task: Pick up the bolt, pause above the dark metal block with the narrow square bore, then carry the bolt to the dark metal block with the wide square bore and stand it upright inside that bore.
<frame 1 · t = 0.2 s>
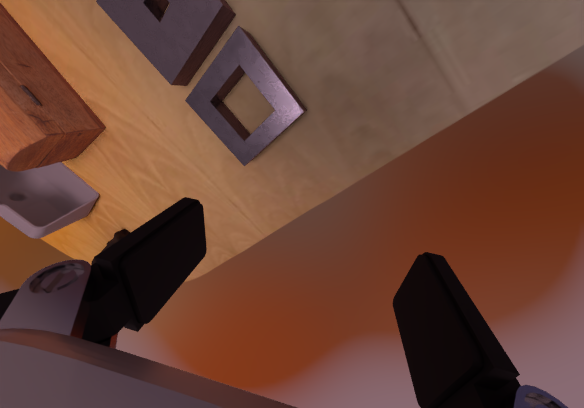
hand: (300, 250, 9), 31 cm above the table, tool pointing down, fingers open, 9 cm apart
wide-bore block: (251, 104, 37), on the table
wooden box: (33, 80, 43), on the table
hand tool: (119, 246, 63), on the table
narrow-bore block: (176, 13, 33), on the table
tank: (52, 177, 55), on the table
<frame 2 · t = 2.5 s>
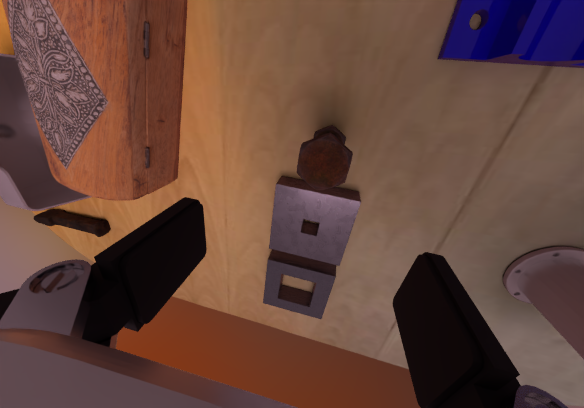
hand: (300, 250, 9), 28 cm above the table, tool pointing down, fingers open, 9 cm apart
wide-bore block: (299, 277, 49), on the table
wooden box: (142, 87, 36), on the table
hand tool: (81, 218, 56), on the table
narrow-bore block: (312, 216, 41), on the table
mounting bracket: (531, 27, 24), on the table
bolt: (329, 137, 34), on the table
tank: (64, 129, 44), on the table
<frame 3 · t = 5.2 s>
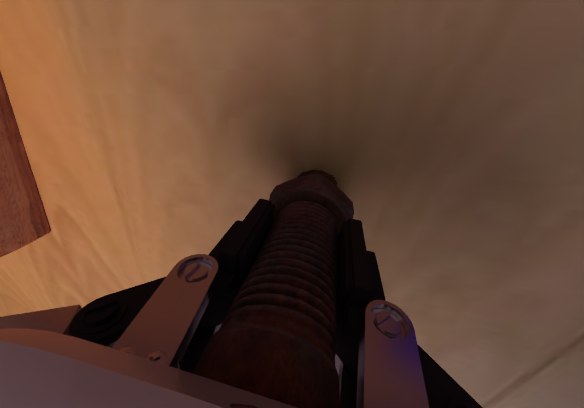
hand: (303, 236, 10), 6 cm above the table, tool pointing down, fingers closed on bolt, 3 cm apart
bolt: (316, 186, 16), on the table, touching gripper
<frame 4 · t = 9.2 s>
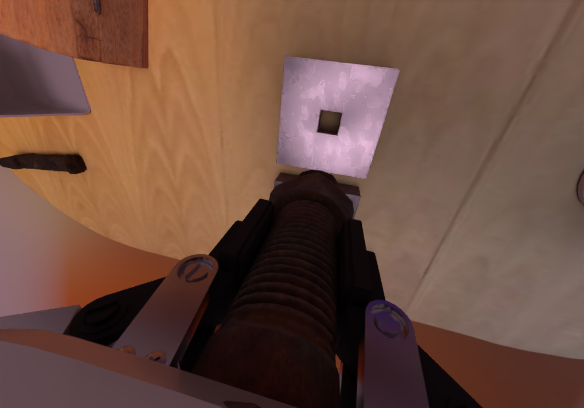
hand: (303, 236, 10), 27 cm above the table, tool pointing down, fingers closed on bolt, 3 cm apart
wide-bore block: (312, 213, 41), on the table
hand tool: (54, 161, 48), on the table
narrow-bore block: (330, 119, 32), on the table
bolt: (316, 185, 16), point 21 cm above the table, touching gripper
tank: (26, 29, 35), on the table
when the fingers open (8 cm above the table, at t = 13.2 s): bolt drops 1 cm, resting in wide-bore block.
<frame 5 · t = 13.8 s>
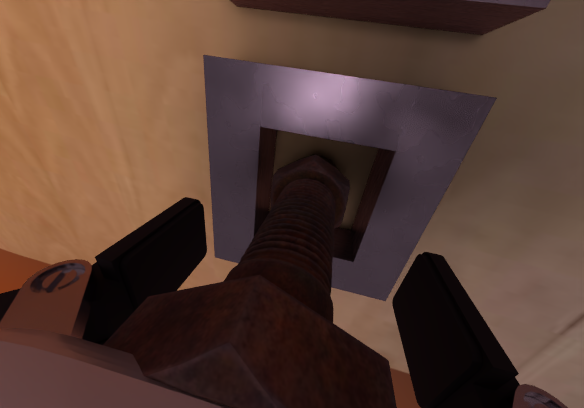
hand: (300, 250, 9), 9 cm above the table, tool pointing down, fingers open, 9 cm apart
wide-bore block: (317, 179, 17), on the table
bolt: (316, 171, 17), resting in wide-bore block
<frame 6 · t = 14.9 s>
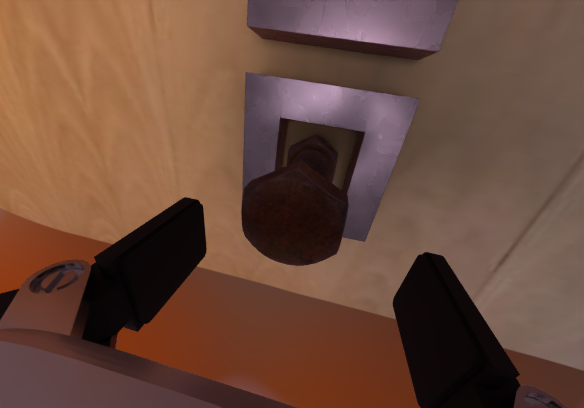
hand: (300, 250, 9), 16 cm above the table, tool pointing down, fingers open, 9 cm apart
wide-bore block: (316, 157, 23), on the table
bolt: (315, 151, 23), resting in wide-bore block
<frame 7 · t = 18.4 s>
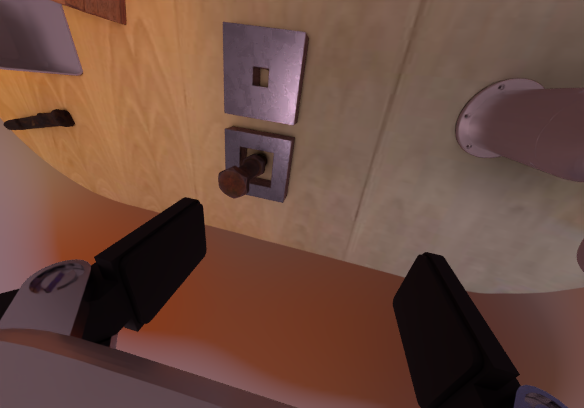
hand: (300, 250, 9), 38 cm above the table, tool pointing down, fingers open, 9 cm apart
wide-bore block: (261, 162, 49), on the table
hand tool: (49, 123, 56), on the table
narrow-bore block: (267, 78, 41), on the table
bolt: (261, 159, 49), resting in wide-bore block
tank: (30, 1, 43), on the table
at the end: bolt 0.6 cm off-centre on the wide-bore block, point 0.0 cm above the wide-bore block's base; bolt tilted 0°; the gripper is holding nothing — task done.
